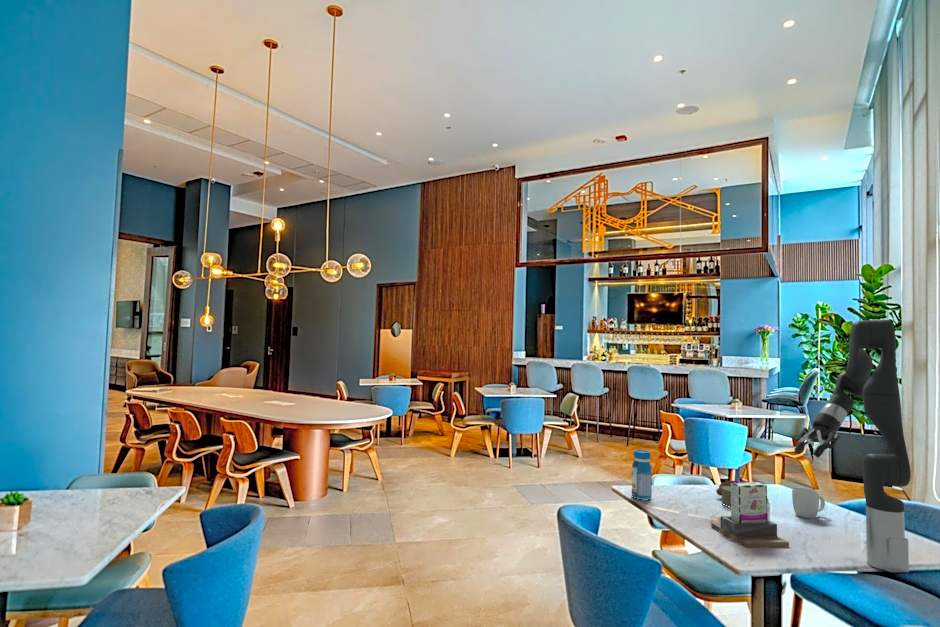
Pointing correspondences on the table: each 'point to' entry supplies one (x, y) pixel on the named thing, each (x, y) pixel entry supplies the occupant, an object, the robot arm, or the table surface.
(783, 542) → the display stand
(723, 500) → the dark grey bowl
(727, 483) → the decorative turtle
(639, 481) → the beverage bottle
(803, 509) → the mug
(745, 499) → the candy bar box
